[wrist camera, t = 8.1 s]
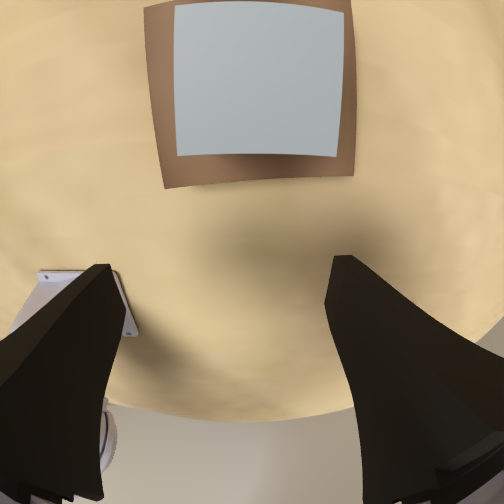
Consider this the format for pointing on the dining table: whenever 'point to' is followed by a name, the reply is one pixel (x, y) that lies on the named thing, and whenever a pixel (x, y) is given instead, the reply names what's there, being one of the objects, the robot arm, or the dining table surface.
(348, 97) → the walnut block
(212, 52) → the gray cube
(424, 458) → the robot arm
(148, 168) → the dining table surface
